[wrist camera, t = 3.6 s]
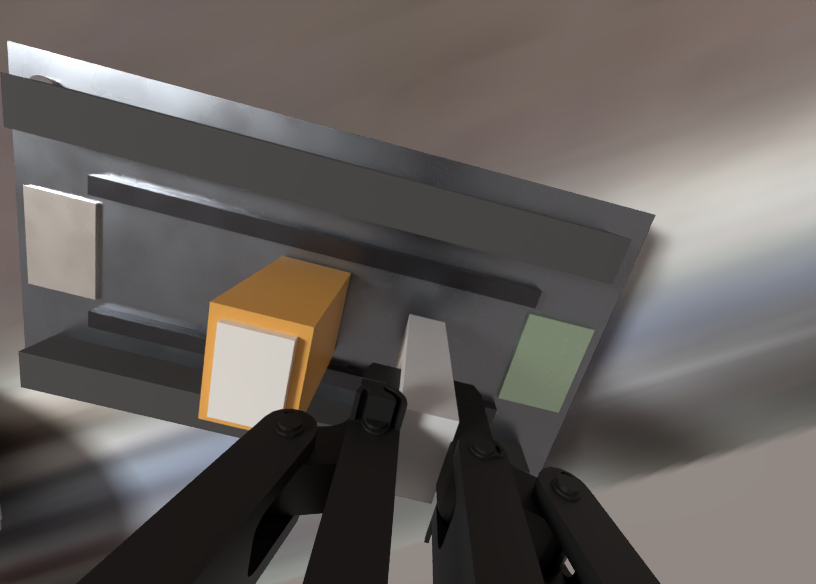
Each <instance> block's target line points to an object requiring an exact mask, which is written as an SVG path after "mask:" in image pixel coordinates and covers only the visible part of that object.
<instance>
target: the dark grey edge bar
mask: <svg viewBox="0 0 816 584" xmlns="http://www.w3.org/2000/svg"><path fill="white" fill-rule="evenodd" d="M19 364H20V380H21V387H23V388H27V389H32V390H36V391H40V392H45V393H49V394H53V395H58V396H62V397H66V398H70V399H75V400H79V401H83V402H88V403H92V404H96V405H101V406H105V407H109V408H113V409H118V410H122V411H126V412H131V413H135V414H139V415H144V416H148V417H152V418H156V419H161V420H165V421H169V422H174V423H178V424H182V425H187V426H191V427H195V428H199V429H204V430H208V431H212V432H217V433H221V434H225V435H230V436H234V437H238V438H241V437H242V436H243V435H244V434H246V433H247V432H248V431H249V430H246V429H241V428H237V427H233V426H228V425H224V424H220V423H216V422H211V421H207V420H203V419H199V418H198V416H199V406H200V396H201V386H202V376H203V369H199V368H194V367H190V366H186V365H182V364H178V363H173V362H169V361H165V360H161V359H157V358H153V357H148V356H144V355H140V354H136V353H132V352H127V351H123V350H119V349H115V348H111V347H107V346H102V345H98V344H94V343H90V342H86V341H81V340H77V339H73V338H69V337H65V336H61V335H54V336H52V337H49V338H47V339H45V340H43V341H41V342H38V343H36V344H34V345H32V346H30V347H28V348H25V349H23V350H21V351H19ZM352 407H353V405H349V404H345V403H341V402H337V401H332V400H328V399H324V398H320V397H316V396H313V398H312V400H311V402H310V404H309V407H308V409H307V411H306V413H308V414H309V415H311V416H312V417H313V418H314V419H315V421H316V422H317V426H334V425H337V424H341V423H343V422H345V421H346V420H347V419H348V418H350V415H351V411H352ZM493 440H495V441H497V442H498V443H499V444H500V445H501V446H502V447H503V448H504V450H505V452H506V454H507V455H508V459H509V462H510V464H511V465H513V466H515V467H516V468H518V469H520V470H522V471H524V472H526V473H529V474H530V471H529V468H528V465H527V462H526V459H525V456H524V454H523V451H522V448H521V445H516V444H512V443H508V442H504V441H500V440H496V439H493Z"/></svg>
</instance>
